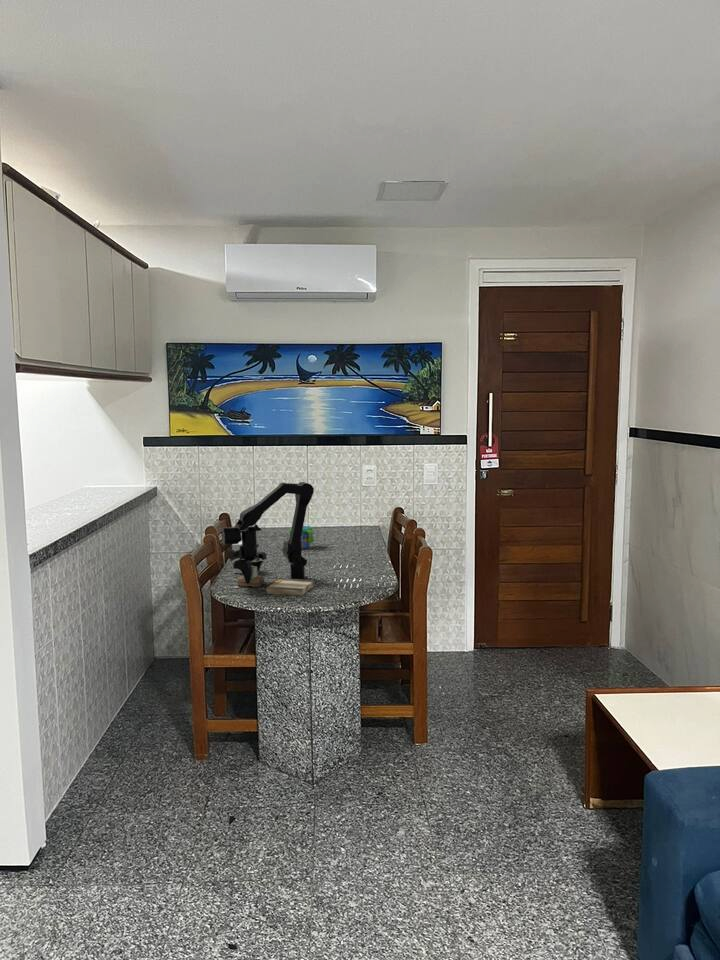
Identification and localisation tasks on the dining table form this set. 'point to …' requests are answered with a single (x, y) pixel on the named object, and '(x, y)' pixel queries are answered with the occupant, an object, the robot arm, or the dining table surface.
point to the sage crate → (254, 572)
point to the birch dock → (290, 586)
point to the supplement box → (237, 547)
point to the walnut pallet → (251, 581)
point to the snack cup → (306, 537)
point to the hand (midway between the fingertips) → (251, 581)
